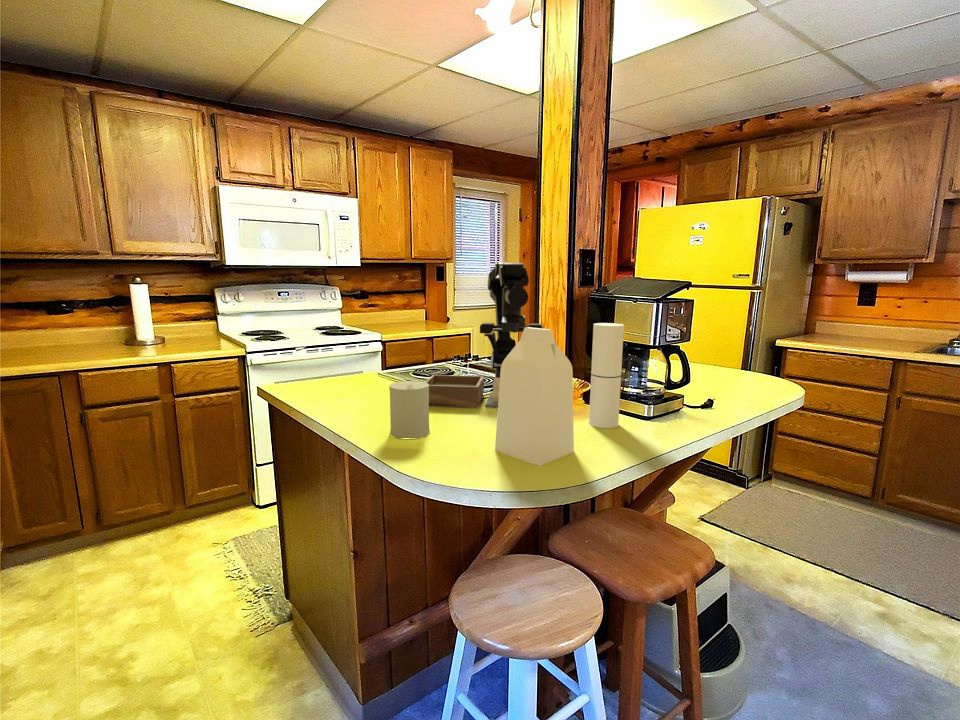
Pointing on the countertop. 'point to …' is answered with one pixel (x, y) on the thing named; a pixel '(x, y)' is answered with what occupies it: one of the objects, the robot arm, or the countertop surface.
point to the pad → (491, 402)
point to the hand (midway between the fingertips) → (510, 356)
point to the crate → (455, 391)
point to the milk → (535, 400)
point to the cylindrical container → (606, 374)
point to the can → (409, 409)
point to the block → (496, 389)
